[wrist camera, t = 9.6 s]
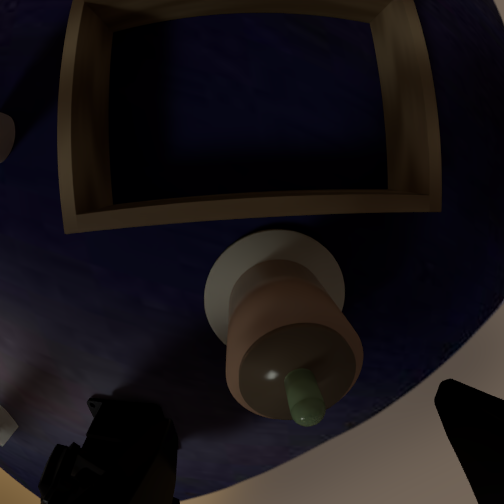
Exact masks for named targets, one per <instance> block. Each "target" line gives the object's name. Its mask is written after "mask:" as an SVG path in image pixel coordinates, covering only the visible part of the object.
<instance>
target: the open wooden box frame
mask: <svg viewBox="0 0 504 504" xmlns="http://www.w3.org/2000/svg"><path fill="white" fill-rule="evenodd" d="M229 13H293V14H307V15H318V16H327V17H335V18H342V19H349V20H355V21H361V22H366V23H370V27H371V31H372V36H373V41H374V46H375V52H376V58H377V64H378V70H379V77H380V84H381V92H382V100H383V110H384V120H385V132H386V148H387V171H388V189H325V190H289V191H266V192H247V193H231V194H216V195H203V196H191V197H180V198H169V199H159V200H150V201H141V202H132V203H123V204H115V205H113V198H112V186H111V173H110V155H109V79H110V62H111V49H112V38H113V32H117V31H121V30H125V29H129V28H133V27H137V26H142V25H146V24H151V23H156V22H162V21H167V20H173V19H180V18H187V17H195V16H204V15H215V14H229ZM57 146H58V172H59V187H60V198H61V208H62V216H63V224H64V231H65V234H70V233H79V232H88V231H97V230H107V229H117V228H127V227H137V226H148V225H160V224H171V223H184V222H197V221H211V220H225V219H240V218H257V217H275V216H295V215H318V214H345V213H383V212H441V203H442V170H441V146H440V132H439V121H438V112H437V104H436V96H435V90H434V83H433V77H432V72H431V67H430V62H429V57H428V52H427V48H426V43H425V39H424V35H423V31H422V28H421V24H420V20H419V17H418V14H417V10H416V7H415V4H414V1H413V0H73V2H72V6H71V10H70V15H69V20H68V25H67V30H66V36H65V42H64V49H63V56H62V64H61V73H60V84H59V98H58V124H57Z"/></svg>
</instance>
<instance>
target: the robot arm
mask: <svg viewBox="0 0 504 504" xmlns="http://www.w3.org/2000/svg"><path fill="white" fill-rule="evenodd" d="M434 402H435V406H436V409H437V411H438V414H439V416H440V419H441V421H442V424H443V427H444V429H445V432H446V434H447V436H448V439H449V441H450V443H451V445H452V447H453V449H454V451H455V453H456V455H457V457H458V459H459V461H460V463H461V466H462V468H463V470H464V472H465V474H466V476H467V479H468V481H469V483H470V485H471V487H472V490H473V492H474V495H475V497H476V499H477V502H478V504H504V400H502V399H500V398H497V397H495V396H492V395H490V394H487V393H485V392H482V391H480V390H477V389H475V388H473V387H470V386H468V385H465V384H463V383H461V382H458V381H456V380H453V379H447V380H444V381H442V382H441V383H440V385H439V388H438V391H437V393H436V396H435V399H434ZM87 405H88V407H89V409H90V411H91V413H92V415H93V417H94V419H93V421H92V423H91V425H90V427H89V429H88V431H87V433H86V436H87V438H86V440H85V442H84V444H83V446H82V448H80V446H79V445H78V444H76V443H75V442H73V443H72V444H71V445H70V446H69V447H68V446H64V445H60V444H57V445H56V446H55V448H54V450H53V452H52V453H51V455H50V457H49V459H48V461H47V463H46V466H45V468H44V471H43V474H42V476H41V479H40V482H39V485H38V488H39V490H40V493H41V504H180V501H179V499H177V498H175V497H173V494H174V489H175V482H176V468H177V449H178V436H177V433H176V430H175V427H174V424H173V421H172V420H171V419H165V418H164V415H163V412H162V409H161V407H160V406H159V405H157V404H153V403H137V402H125V401H115V400H106V399H97V398H89V400H88V401H87ZM153 409H155V410H153Z"/></svg>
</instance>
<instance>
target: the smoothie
mask: <svg viewBox="0 0 504 504" xmlns="http://www.w3.org/2000/svg"><path fill="white" fill-rule="evenodd" d="M14 139H15V125H14V121H13V119H12V118H11V117H10V116H9V115H6V114H4V113H1V112H0V163H1V162H3V161H4V160H5V159H6V158H7V157H8V155H9V153H10V152H11V149H12V147H13V144H14Z"/></svg>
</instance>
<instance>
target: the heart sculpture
mask: <svg viewBox="0 0 504 504" xmlns="http://www.w3.org/2000/svg"><path fill="white" fill-rule="evenodd" d="M18 427H19V426H18V425H17V423H16V422H15V421H14V419H13V418H12V417H11V416H10V414H9V413H8V412H7V411H6V410H5V409H4V408H3V407H2V406H1V405H0V445H1V446H2V447H3V445H4V444H5V443H6V442H7V440H8V439H9V438H10V437H11V435H12V434H13V433H14V432H15V431H16V429H17V428H18Z"/></svg>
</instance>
